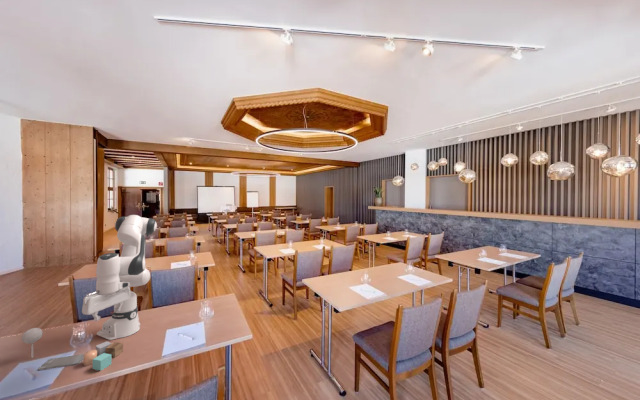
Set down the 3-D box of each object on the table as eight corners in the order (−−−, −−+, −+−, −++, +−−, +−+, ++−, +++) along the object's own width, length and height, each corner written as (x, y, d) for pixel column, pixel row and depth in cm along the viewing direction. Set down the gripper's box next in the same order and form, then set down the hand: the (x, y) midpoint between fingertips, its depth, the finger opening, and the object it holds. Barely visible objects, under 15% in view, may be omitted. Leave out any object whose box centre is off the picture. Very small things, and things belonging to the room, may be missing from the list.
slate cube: (95, 355, 131) (95, 345, 131) (107, 350, 135) (107, 341, 135) (99, 358, 129) (100, 348, 129) (111, 352, 133) (111, 343, 133)
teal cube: (92, 369, 120) (92, 359, 120) (103, 362, 125) (103, 353, 125) (100, 371, 119) (100, 360, 119) (111, 364, 124) (111, 354, 124)
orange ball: (80, 365, 123) (80, 355, 123) (91, 358, 128) (92, 349, 128) (88, 366, 122) (88, 356, 122) (99, 360, 127) (99, 350, 127)
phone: (49, 361, 126) (49, 358, 126) (88, 355, 131) (88, 353, 131) (36, 372, 119) (36, 369, 119) (78, 365, 123) (78, 363, 123)
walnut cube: (105, 357, 129) (105, 347, 129) (114, 351, 134) (114, 342, 134) (114, 357, 129) (115, 348, 129) (123, 351, 134) (123, 342, 134)
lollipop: (42, 351, 133) (42, 323, 133) (43, 357, 129) (43, 328, 129) (21, 358, 128) (21, 329, 128) (21, 364, 123) (21, 334, 123)
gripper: (89, 295, 111) (88, 327, 111) (132, 281, 131) (132, 307, 130) (78, 294, 112) (78, 325, 112) (123, 280, 132) (123, 306, 132)
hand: (107, 315), depth 121 cm, fingers open, 8 cm apart
